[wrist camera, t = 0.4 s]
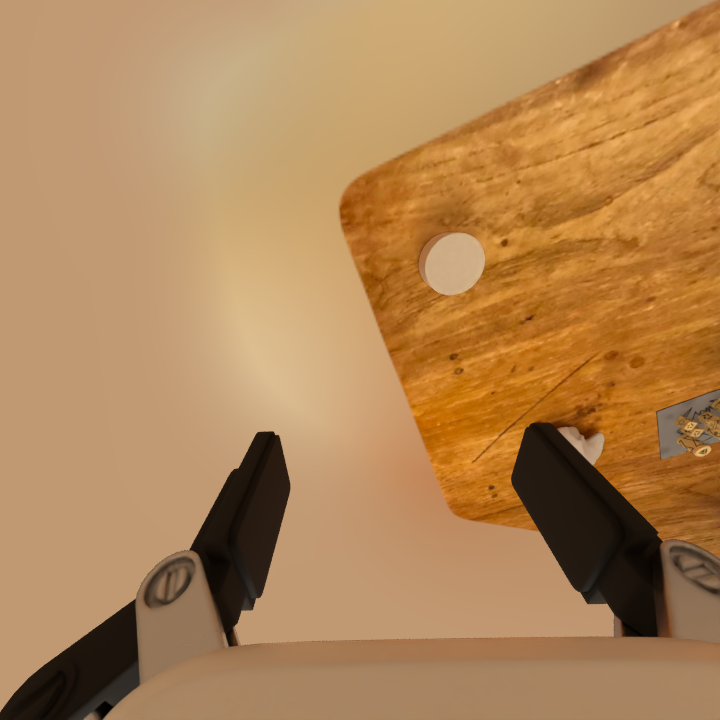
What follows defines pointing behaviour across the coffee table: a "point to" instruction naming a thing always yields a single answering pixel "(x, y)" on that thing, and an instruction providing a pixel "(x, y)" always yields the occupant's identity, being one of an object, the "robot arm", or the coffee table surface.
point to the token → (452, 262)
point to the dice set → (690, 426)
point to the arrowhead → (584, 443)
